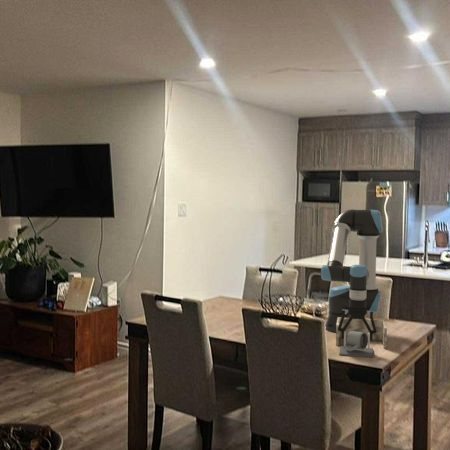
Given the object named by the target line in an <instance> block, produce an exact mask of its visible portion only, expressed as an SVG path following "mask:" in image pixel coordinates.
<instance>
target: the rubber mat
mask: <svg viewBox="0 0 450 450" xmlns="http://www.w3.org/2000/svg"><path fill="white" fill-rule="evenodd" d="M347 347H348V348H351V347H350V346H347ZM339 356H343V357H354V358H355V357H356V358H358V357H359V358H369V359H370V358H372V359H374V358H375V357H374V348H373V347H372V348H371V347H370V348H368V347H366V348H365V349H363V350H362V349H357V348H356V349H355V350H351V351H349V350H347V349H346V348H345V347H344V345H340V346H339Z"/></svg>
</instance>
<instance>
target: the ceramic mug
mask: <svg viewBox="0 0 450 450" xmlns="http://www.w3.org/2000/svg"><path fill="white" fill-rule="evenodd" d="M348 347H351V348H348ZM345 348H346V349H347V350H349V351H351V350H355V349H356V348H357V349H362V350H363V349H365V348H368V336H367V334H366V333H364V332H355V331H350V332H348V333H347V335H346V344H345Z"/></svg>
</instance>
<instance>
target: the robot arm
mask: <svg viewBox="0 0 450 450" xmlns="http://www.w3.org/2000/svg"><path fill="white" fill-rule="evenodd" d="M331 231H332V238H331V242H330V248H329V252H328V253H329V254H328V258H327V263H326V264H324V265H322V266H321V269H320V276H321V280H322V281H327V282H340V283H341V282H342V283H349V285H340V286H339V285H337V286H334V287H331V288H330V289H329V293H328V299H329V300H328V302H329V303H328V317H327V319H326V321H325V326H324V328H325V327H326V329H325V330H326V331H328V332H332V333H336V324H337V318H338V317H341V320H340V323H339V326H338V331H341V332H342V338H341V340H343V346H344V347H345V344H346V331H345V330H346V328H347V327H348V325H349V323H350V322H351V321H352V319H360V320H361V319H362V320H363V322H364V324H365V325H366V327H367V329H368V331H369V333H368V344H367V348H371V347H370V345H371V344H370V343H371V342H372V341H373V340H372V335H373V333H376V332H377V330H376V327H375V323H374V320H375V318H374V317H373V316H374V313H377V312H378V311H379V307H380V302H381V296H382V291H380V290H379V286H377V284H376V278H377V277H376V274H377V273H376V272H377V271H376V270H377V240H378V238H380V234H382V233H383V231H384V228H383V218H382V213H381V211H380V210H377V209H354V208H353V209H347V210H344V211H343V212H342V213H340V214H339V215H338V216H337V217H336V218H335V220H334V222H333V224H332V227H331ZM351 232H354V233H355V232H356V236H357V237H358V238H359V251H358V252H359V254H358V255H359V256H358V257H359V258H358V260H359V261H358V264H352V265H350V266H349V265H348V266H347V265H344V260H345V257H346V250H347V246H348V245H347V243H348V238H349V236H350V234H351ZM366 315H368V316H369V319H371V323H372V327H373V330H371V328H370V326H369V324H368V323H367V321H366V319H367V318H366V317H365V316H366ZM344 318H349V319H348V321H347V322H346V324H345V325H344V327H343V328H341V326H342V323H343V320H344Z"/></svg>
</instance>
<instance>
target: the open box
mask: <svg viewBox="0 0 450 450" xmlns="http://www.w3.org/2000/svg"><path fill="white" fill-rule="evenodd" d="M348 319H349V318H344V320H343V323H342V326H341V328H343V327H344V325H345V324H346V322H347V321H348ZM365 319H366V321H367V323H368V324H369V326H370V328H371V330H373V327H372V323H371V319H370V318H365ZM340 320H341V317H338V318H337V324H336V332H335V333H336V334H335V346H339V345H340V339H342V332H341V331H338V326H339V323H340ZM374 323H375V327H376V330H377V332H376V333H373V335H372V341H382V342H381V343H382V347H383V349H384V350H387V342H388V341H387V337H388V336H387V335H388V334H387V333H388V328H387V322H386V320H385V319H374ZM345 331H346V335H347V333H348V332H350V331H355V332H364V333H366V334H367V336H368V333H369V331H368V329H367V327H366V325H365V324H364V322H363V320H362V319H361V320H360V319H352V321H351V322H350V323H349V325H348V327H347V328H346V330H345Z"/></svg>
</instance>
